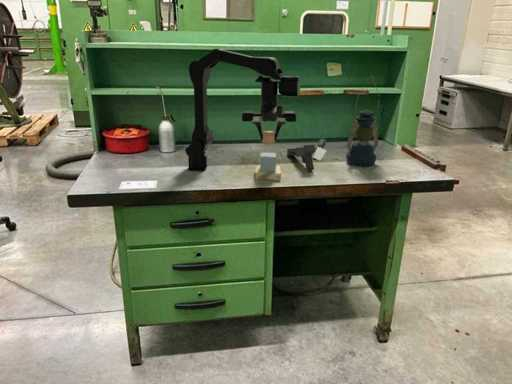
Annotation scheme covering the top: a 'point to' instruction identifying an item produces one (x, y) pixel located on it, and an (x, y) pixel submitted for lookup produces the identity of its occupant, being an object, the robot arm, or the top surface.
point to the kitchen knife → (320, 150)
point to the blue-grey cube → (268, 162)
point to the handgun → (304, 155)
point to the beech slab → (268, 174)
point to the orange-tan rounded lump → (268, 137)
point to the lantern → (363, 138)
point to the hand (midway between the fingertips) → (268, 140)
